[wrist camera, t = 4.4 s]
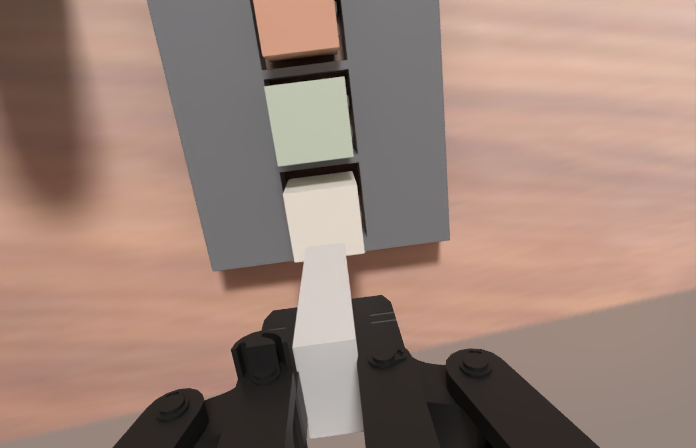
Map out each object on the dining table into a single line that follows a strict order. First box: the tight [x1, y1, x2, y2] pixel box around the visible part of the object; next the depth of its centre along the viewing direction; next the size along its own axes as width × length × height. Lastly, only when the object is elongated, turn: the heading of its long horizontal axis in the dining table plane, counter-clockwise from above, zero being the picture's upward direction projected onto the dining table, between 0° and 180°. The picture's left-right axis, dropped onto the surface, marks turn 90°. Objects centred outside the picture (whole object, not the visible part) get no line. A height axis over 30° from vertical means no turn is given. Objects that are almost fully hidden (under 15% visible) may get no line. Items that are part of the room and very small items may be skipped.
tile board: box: [147, 0, 450, 271], centre depth 26 cm, size 16×18×2 cm
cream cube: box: [283, 171, 365, 263], centre depth 25 cm, size 4×4×4 cm
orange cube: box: [253, 0, 340, 62], centre depth 23 cm, size 4×4×4 cm
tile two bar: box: [264, 77, 354, 166], centre depth 23 cm, size 4×4×4 cm
